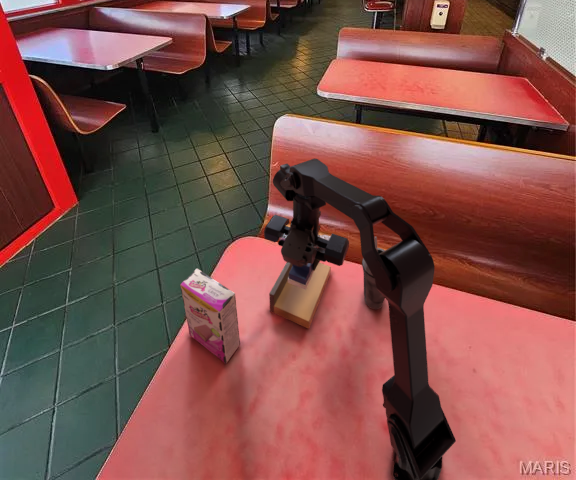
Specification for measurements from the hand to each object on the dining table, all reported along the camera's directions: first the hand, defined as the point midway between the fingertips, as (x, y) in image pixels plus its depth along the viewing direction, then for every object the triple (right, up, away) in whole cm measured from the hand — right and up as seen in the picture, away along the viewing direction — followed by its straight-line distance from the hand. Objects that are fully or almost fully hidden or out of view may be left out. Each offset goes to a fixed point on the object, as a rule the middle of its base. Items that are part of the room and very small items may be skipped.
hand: (305, 265), depth 77 cm
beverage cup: (+17, -11, +4) cm, 20 cm away
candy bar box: (-20, -14, -5) cm, 25 cm away
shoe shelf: (0, -10, +6) cm, 11 cm away
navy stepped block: (0, -1, 0) cm, 1 cm away
